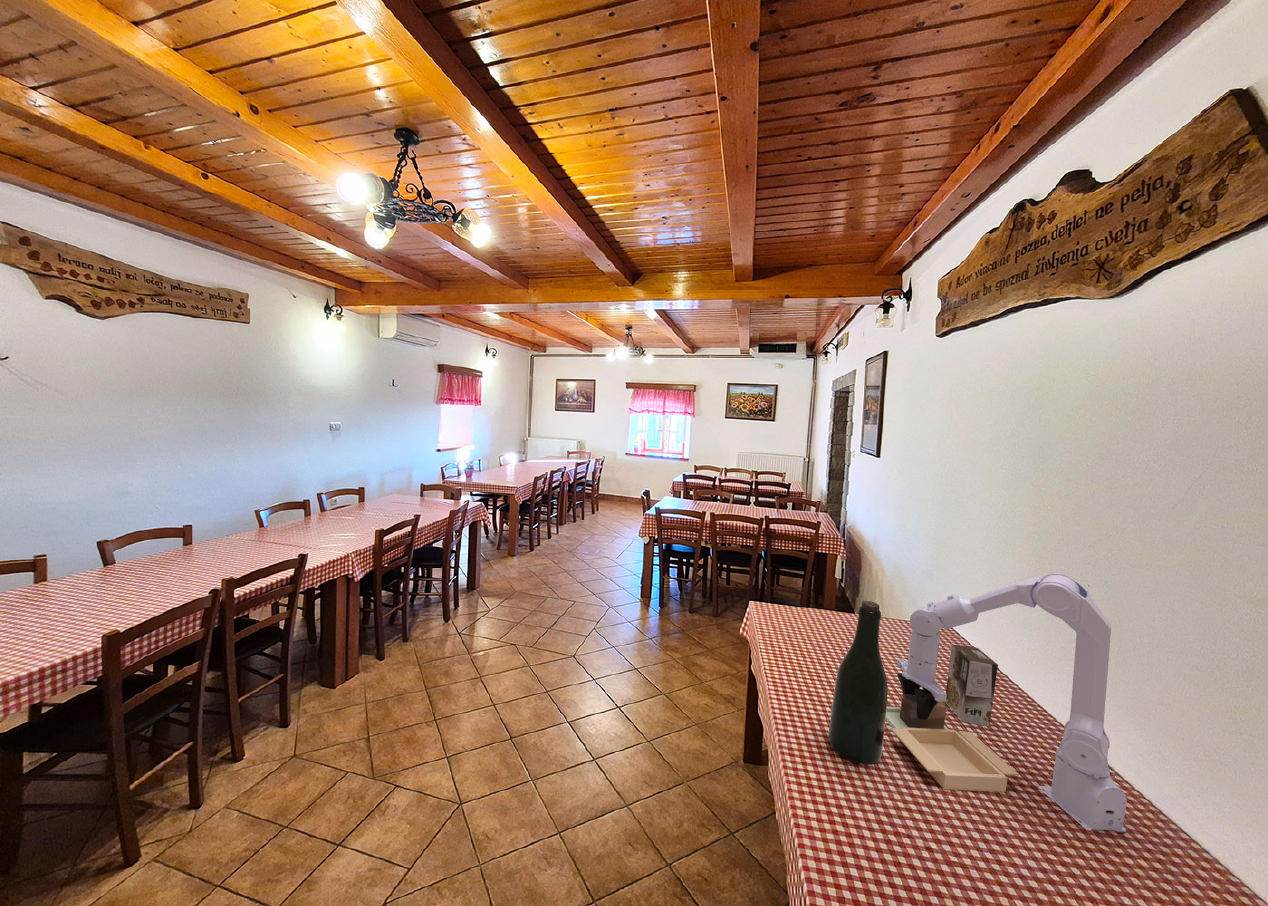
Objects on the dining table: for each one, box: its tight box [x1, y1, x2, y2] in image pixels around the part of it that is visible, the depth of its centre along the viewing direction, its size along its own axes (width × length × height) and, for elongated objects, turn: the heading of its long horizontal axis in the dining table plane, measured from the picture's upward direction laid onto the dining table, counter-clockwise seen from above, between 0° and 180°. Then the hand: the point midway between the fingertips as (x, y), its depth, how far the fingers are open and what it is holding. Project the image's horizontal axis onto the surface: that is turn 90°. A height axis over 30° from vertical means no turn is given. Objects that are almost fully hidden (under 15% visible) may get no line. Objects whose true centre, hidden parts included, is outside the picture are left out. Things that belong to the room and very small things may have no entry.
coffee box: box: [944, 644, 999, 727], centre depth 112 cm, size 9×6×16 cm
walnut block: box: [900, 693, 948, 729], centre depth 106 cm, size 4×8×6 cm, turn 91°
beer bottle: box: [828, 600, 889, 765], centre depth 96 cm, size 10×10×33 cm
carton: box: [890, 727, 1019, 793], centre depth 94 cm, size 14×19×4 cm
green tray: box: [885, 706, 950, 730], centre depth 107 cm, size 10×13×1 cm
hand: (915, 711), depth 106 cm, fingers closed on walnut block, 4 cm apart
